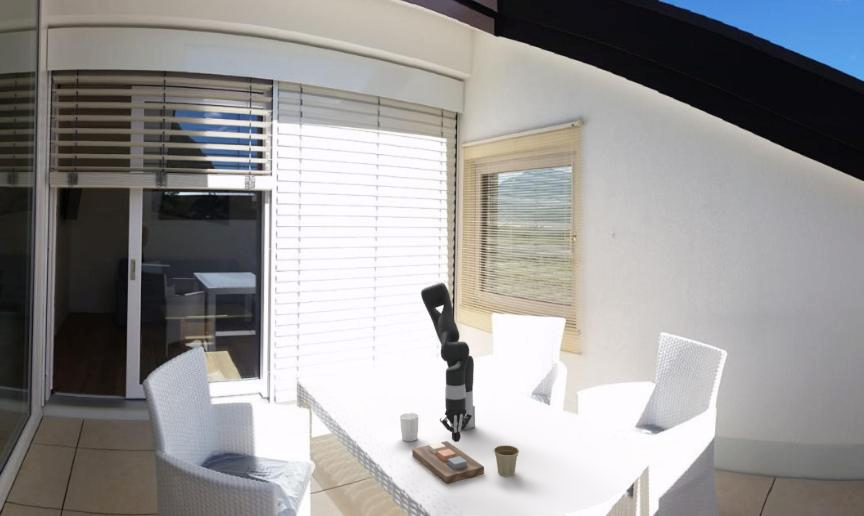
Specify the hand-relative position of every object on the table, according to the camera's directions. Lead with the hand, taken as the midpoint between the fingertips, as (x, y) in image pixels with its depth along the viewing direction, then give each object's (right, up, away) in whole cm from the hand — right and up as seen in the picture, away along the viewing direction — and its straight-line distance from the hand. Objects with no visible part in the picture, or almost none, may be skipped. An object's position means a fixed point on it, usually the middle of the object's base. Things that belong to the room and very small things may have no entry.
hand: (456, 441), depth 209 cm
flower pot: (+19, -12, 0) cm, 22 cm away
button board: (-3, -12, +8) cm, 15 cm away
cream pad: (-7, -9, +15) cm, 19 cm away
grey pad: (+1, -10, +1) cm, 10 cm away
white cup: (-19, -11, +35) cm, 41 cm away
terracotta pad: (-3, -10, +8) cm, 13 cm away
